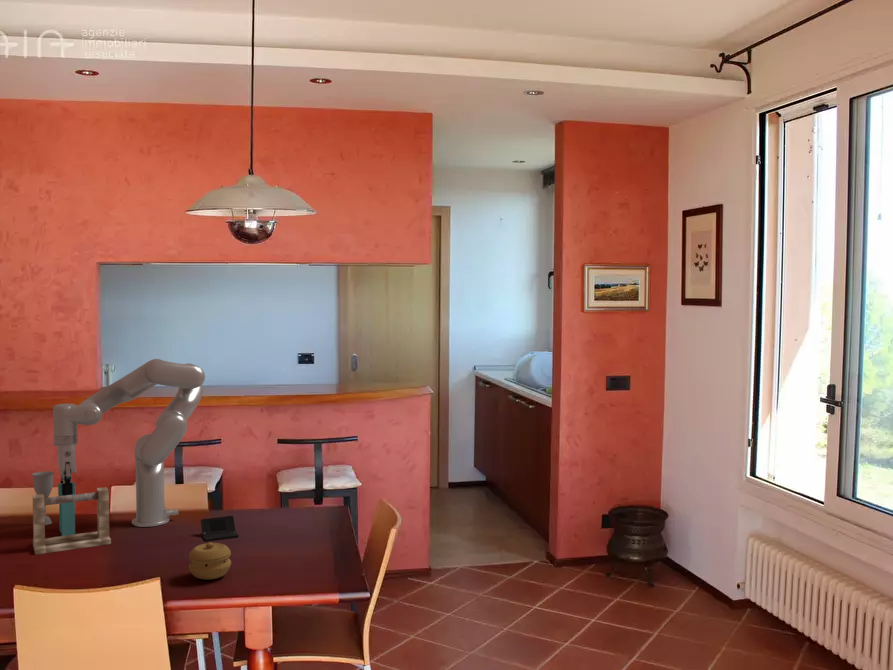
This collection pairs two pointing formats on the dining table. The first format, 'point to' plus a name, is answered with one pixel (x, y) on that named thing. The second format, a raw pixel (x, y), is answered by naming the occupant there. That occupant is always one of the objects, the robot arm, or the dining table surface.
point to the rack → (101, 534)
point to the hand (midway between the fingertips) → (66, 492)
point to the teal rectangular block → (67, 514)
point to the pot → (209, 560)
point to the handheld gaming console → (218, 528)
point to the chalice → (43, 487)
